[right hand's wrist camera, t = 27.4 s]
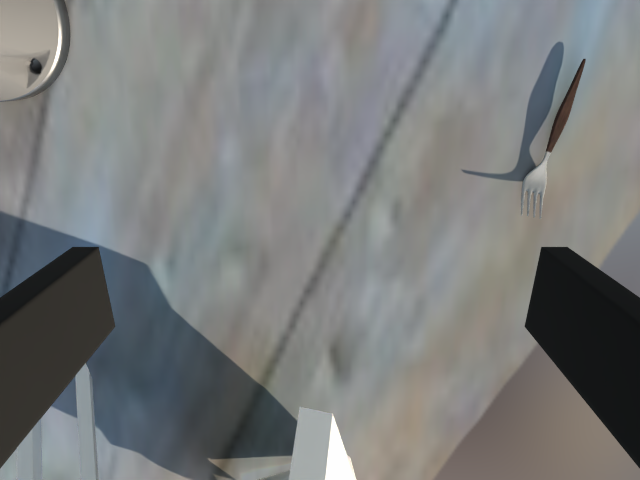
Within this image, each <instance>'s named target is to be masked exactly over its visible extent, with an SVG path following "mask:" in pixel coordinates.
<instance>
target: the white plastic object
mask: <svg viewBox="0 0 640 480" xmlns="http://www.w3.org/2000/svg"><path fill="white" fill-rule="evenodd" d="M75 379H76V399H77V419H78V438H79V458H80V478H81V480H99V477H98V461H97V446H96V431H95V415H94V400H93V385H92V377H91V374H90V372H89V369H88V367H87V365H86V363H85V364H84V366H83V367H82V368H81V369H80V371H79V372H78V373H77V374H76V376H75ZM17 480H42V434H41V419H40V420H39V421H38V422H37V424H36V425H35V426H34V427H33V429H32V430H31V431H30V432H29V434H28V435H27V436H26V437H25V438H24V440H23V441H22V442H21V443H20V445H19V446H18V447H17ZM258 480H356V477H355V473H354V470H353V466H352V462H351V459H350V457H349V456H348V455H347V454H346V451H345V448H344V446H343V443H342V440H341V437H340V434H339V431H338V428H337V425H336V422H335V419H334V416H333V414H332V413H328V412H323V411H318V410H313V409H308V408H304V407H300V409H299V415H298V422H297V428H296V435H295V442H294V448H293V455H292V462H291V468H290V470H288V471H284V472H281V473H278V474H274V475H271V476H268V477H264V478H261V479H258Z"/></svg>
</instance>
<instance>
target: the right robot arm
mask: <svg viewBox="0 0 640 480" xmlns="http://www.w3.org/2000/svg"><path fill="white" fill-rule="evenodd" d="M69 46H70V24H69V17H68V12H67V8H66V5H65V2H64V0H0V102H2V101H13V100H21V99H26V98H29V97H32V96H35V95H37V94H39V93H41V92H42V91H44V90H45V89H47V88H48V87H49V86H50V85H51V84H52V83H53V82H54V81H55V80H56V79H57V77H58V76H59V74H60V73H61V71H62V69H63V67H64V65H65V62H66V59H67V56H68V52H69ZM114 327H115V323H114V318H113V313H112V309H111V304H110V299H109V294H108V290H107V285H106V280H105V276H104V271H103V266H102V261H101V257H100V252H99V247H72V248H71V249H69V250H68V251H66V252H65V253H63V254H62V255H61V256H59V257H58V258H56V259H55V260H53V261H52V262H51V263H49V264H48V265H46V266H45V267H43V268H42V269H41V270H39V271H38V272H36V273H35V274H33V275H32V276H31V277H29V278H28V279H26V280H25V281H23V282H22V283H21V284H19V285H18V286H16V287H15V288H13V289H12V290H11V291H9V292H8V293H6V294H5V295H3V296H2V297H1V298H0V468H1V467H2V466H3V464H4V463H5V462H6V461H7V459H8V458H9V457H10V456H11V454H12V453H13V452H14V451H15V450H16V448H17V447H18V446H19V445H20V443H21V442H22V441H23V440H24V438H25V437H26V436H27V435H28V434H29V432H30V431H31V430H32V429H33V427H34V426H35V425H36V424H37V422H38V421H39V420H40V419H41V417H42V416H43V415H44V414H45V413H46V411H47V410H48V409H49V408H50V406H51V405H52V404H53V403H54V401H55V400H56V399H57V398H58V397H59V395H60V394H61V393H62V392H63V390H64V389H65V388H66V387H67V385H68V384H69V383H70V382H71V380H72V379H73V378H74V377H75V376H76V374H77V373H78V372H79V371H80V369H81V368H82V367H83V366H84V364H85V363H86V362H87V361H88V360H89V358H90V357H91V356H92V355H93V353H94V352H95V351H96V350H97V348H98V347H99V346H100V345H101V343H102V342H103V341H104V340H105V339H106V337H107V336H108V335H109V334H110V332H111V331H112V330H113V329H114ZM525 327H526V329H527V330H528V331H529V332H530V334H531V335H532V336H533V337H534V339H535V340H536V341H537V342H538V343H539V345H540V346H541V347H542V348H543V350H544V351H545V352H546V353H547V355H548V356H549V357H550V358H551V359H552V361H553V362H554V363H555V364H556V366H557V367H558V368H559V369H560V371H561V372H562V373H563V374H564V376H565V377H566V378H567V379H568V380H569V382H570V383H571V384H572V385H573V387H574V388H575V389H576V390H577V392H578V393H579V394H580V395H581V397H582V398H583V399H584V400H585V401H586V403H587V404H588V405H589V406H590V408H591V409H592V410H593V411H594V413H595V414H596V415H597V416H598V417H599V419H600V420H601V421H602V422H603V424H604V425H605V426H606V427H607V428H608V430H609V431H610V432H611V433H612V435H613V436H614V437H615V438H616V440H617V441H618V442H619V443H620V445H621V446H622V447H623V448H624V450H625V451H626V452H627V453H628V454H629V456H630V457H631V458H632V459H633V461H634V462H635V463H636V464H637V466H638V467H639V468H640V298H639V297H638V296H637V295H635V294H634V293H632V292H631V291H629V290H628V289H627V288H625V287H624V286H622V285H621V284H619V283H618V282H617V281H615V280H614V279H612V278H611V277H609V276H608V275H606V274H605V273H604V272H602V271H601V270H599V269H598V268H597V267H595V266H594V265H592V264H591V263H589V262H588V261H587V260H585V259H584V258H582V257H581V256H579V255H578V254H577V253H575V252H574V251H572V250H571V249H569V248H568V247H541V252H540V257H539V261H538V266H537V271H536V276H535V280H534V285H533V290H532V294H531V299H530V304H529V309H528V313H527V318H526V323H525Z"/></svg>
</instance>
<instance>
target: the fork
mask: <svg viewBox="0 0 640 480" xmlns="http://www.w3.org/2000/svg"><path fill="white" fill-rule="evenodd" d="M585 60H586V59H583V61H582V62H581V64H580V66H579V68H578V71H577V73H576V75H575V77H574V79H573V81H572V83H571V86H570V88H569V90H568V92H567V94H566V96H565V98H564V100H563V102H562V104H561V106H560V108H559V110H558V113H557V115H556V117H555V120H554V123H553V127H552V130H551V134H550V138H549V142H548V145H547V149H546V153H545V156H544V159H543V161H542V162H541V163H540V164H539V165H538V166H537V167H536V168H534V169H533V170H532V171H531V172H529V173H528V174H527V175H526V177H525V178H524V180H523V184H522V195H521V215H522V213H523V204H524V196H525V192H526V191H527V192H528V199H527V216H529V206H530V199H531V194H532V192H533V193H534V209H533V215H534V217H535V209H536V201H537V195H538V193H539V194H540V219H541V212H542V204H543V197H544V192H545V188H546V182H547V173H546V164H547V160H548V158H549V156H550V154H551V152H552V150H553V148H554V146H555V144H556V142H557V140H558V138H559V136H560V134H561V132H562V130H563V128H564V126H565V124H566V122H567V120H568V117H569V114H570V111H571V108H572V104H573V101H574V97H575V94H576V90H577V87H578V84H579V81H580V78H581V75H582V71H583V68H584V64H585Z"/></svg>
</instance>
